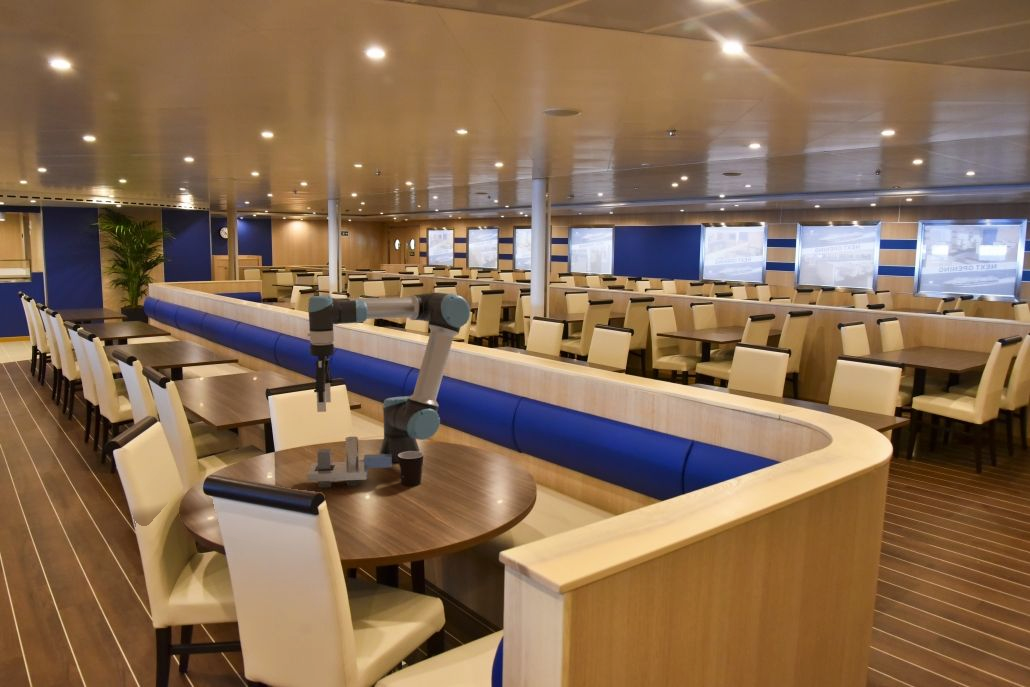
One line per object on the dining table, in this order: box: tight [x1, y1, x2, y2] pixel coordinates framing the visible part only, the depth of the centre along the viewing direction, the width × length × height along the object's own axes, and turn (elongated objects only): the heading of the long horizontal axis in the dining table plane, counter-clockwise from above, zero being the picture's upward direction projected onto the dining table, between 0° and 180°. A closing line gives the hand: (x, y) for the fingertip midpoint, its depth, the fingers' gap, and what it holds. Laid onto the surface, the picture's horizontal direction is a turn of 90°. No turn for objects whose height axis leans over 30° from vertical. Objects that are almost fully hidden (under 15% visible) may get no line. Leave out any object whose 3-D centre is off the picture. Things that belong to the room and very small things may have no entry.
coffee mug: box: [398, 451, 425, 488], centre depth 238 cm, size 12×9×10 cm
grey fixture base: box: [306, 436, 393, 487], centre depth 235 cm, size 27×12×16 cm, turn 98°
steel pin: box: [316, 448, 333, 488], centre depth 234 cm, size 4×4×12 cm
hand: (324, 406), depth 232 cm, fingers open, 13 cm apart
